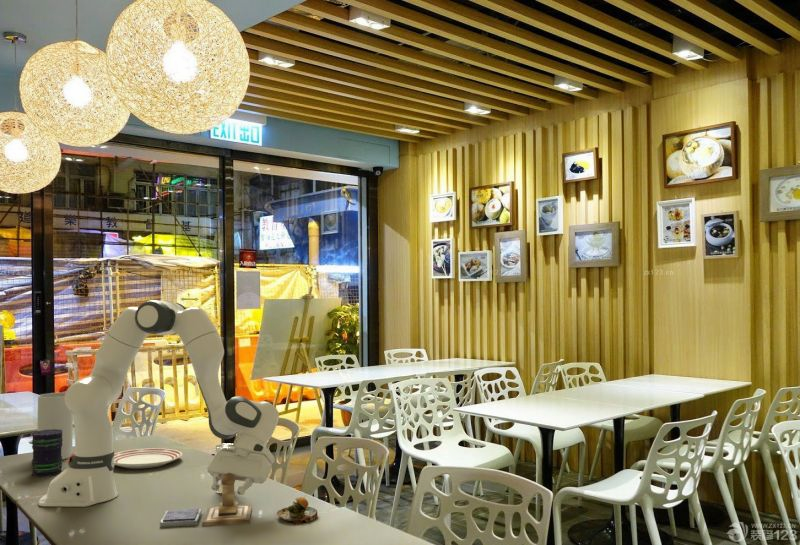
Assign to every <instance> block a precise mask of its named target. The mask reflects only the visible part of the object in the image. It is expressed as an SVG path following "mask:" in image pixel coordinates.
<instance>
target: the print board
mask: <svg viewBox="0 0 800 545" xmlns="http://www.w3.org/2000/svg"><path fill="white" fill-rule="evenodd" d="M252 507H253V506H252V505H251V504H250V505H247V504H246V505H238V508H237V514H236V515H231V516H218V513H219V506H213V507H212V506H211V507H210V506H209V507H207V508H206V512H205V513H204V516H203V519H202V522H201V524H202V527H203V526H219V525H235V524H239V525H241V524H250V523H251V515H252V509H253V508H252Z"/></svg>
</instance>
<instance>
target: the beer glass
mask: <svg viewBox="0 0 800 545" xmlns="http://www.w3.org/2000/svg"><path fill="white" fill-rule="evenodd" d="M235 444H236V443H220V444H217V445H215V448H214V456H215V455H216V454H217V453H218V452H219V451H220V450H222V449H224V448H228V449H233V448H234V446H235ZM218 484H219V485H220V488H219V490H218V491H215V493H216V494H218V493H220V494H219V495H222V494H221V493H222V482H221V480H220V481H219V483H218ZM235 491H236V489H235V487H234V492H235Z"/></svg>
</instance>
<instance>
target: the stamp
mask: <svg viewBox="0 0 800 545" xmlns="http://www.w3.org/2000/svg"><path fill="white" fill-rule="evenodd" d="M221 482H222V494H221V499H222V500H221V502H219V505H218V507H219V513H218V516H231V515H236V514H237V508H238V506H239V505H238V502H239V501H235V491H234V488H235V483H236V480H235V476H234V475H233V474H232V473H226V474H224V475H223V476H222V479H221Z"/></svg>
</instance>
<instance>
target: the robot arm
mask: <svg viewBox="0 0 800 545" xmlns="http://www.w3.org/2000/svg"><path fill="white" fill-rule="evenodd" d="M149 335H158V336H168V335H170V336H173V335H178V337H179V338H180V340H181V342H182V344H183V347H184V349H185V350H186V352H187V355H188V359H189V360H190V363H191V365H192V368H193V371H194V376H195V379H196V381H197V385H198V387H199V388H198V389H199V390H200V393H201V395H202V399H203V401H204V403H205V406H206V409H207V414H208V427H209V430H210V432H211V433H212V434H213V435H214V436H215V437H216V438H219V439H221V440H228V439H232V438H234V437H235V436H237V434H239V436H238V437H237V440H236V442H235V443H234V444H235V446H234V448H233V449H228V448H224V449H222V450H220V451H219V452H218V453H217V454H216V455H215V454H214V457H213V458H212V459H211V461H210V463H209V464H208V466H206V467H207V469H206V470H207V472H208V474H209V475H210V476H211V477H213V482H212V485H211V490H212V491H214V492H216V491H218V490H219V488H220V485H219V484H218V483H219V481H220V480H221V479H222V476H223V475H224V474H226V473H232V474H233V475H234V476H235V481H239V482H240V481H241V482H244V483H243V484H242V485H241V486H238V488H237V490H236V493H237V494H238V495H241V496H243V495H244V494H245V493H246V491H247V490H249V489H250V488H251V487H252V486H253V484H254V483H255V484H259V485H260V484H261V485H262V484H264V483H265V482H266V481H267V480H268V478H269V475H270V473H271V470H272V467H273V466H272V464H273V463H275V461H276V460H275V459H276V458H275V456H274V455H273V453H272V452H271V451H270V449H268V448H267V443H268V441H269V440H270V439H271V437H272V436H273V434H274V432H275V430H276V428H277V424H278V422H279V420H280V419H279V418H280V415H279V414H280V413H279V410H278V409H277V408H276V406H275V405H274V404H272V403H270V402H268V401H266V400H265V401H264V400H263V401H255V400H251V399H248V398H246V397H245V396H239V395H237V396H233V397H231V398H229V400H227V399H226V397H225V394H224V391H223V389H222V387H221V383H220V380H219V371H220V367H221V363H222V360H223V358H224V355H225V349H224V343H223V341H222V338H221V336H220V334H219V332H218V330H217V328H216V326H215V325H214V322H213V321H212V319H211V318H210V317H209V315H208V314H207V312H206V311H205V310H204V309H203V308H201V307H198V306H192V307H191V306H190V307H188V308H186V307H185V306H184V305H183V304H181V303H178V302H174V301H170V300H159V299H158V300H157V299H151V300H148V301H144V302H142V303H141V304H140V305H139V306H138V307H137V306H130V307H129V306H128V307H126V308H124V309H123V311H122V312H120V314H119V315H118V317H117V318H116V319H115V321H114V322H113V324H112V325H111V326H110V328H109V329H108V331H107V333H106V335H105V337H104V339H103V340H102V342H101V344H100V346H99V348H98V350H97V351H96V354H95V358H96V359H95V362H94V366H93V369H92V371H91V373H90V374H89V375H88V376H87V377H83V378H80V379H78V380H76V381H75V382H74V383H72V384H71V385H70V386H69V387H68V388H67V389H66V391H65V392H64V393H65V403H66V405H67V407H68V408H69V409H70V411H71V414H72V418H73V427H74V440H75V441H74V444H75V445H74V448H75V449H74V452H72V454H71V456H70V457H69V458H67V459H66V460H67V461H66V462H67V465H68V466H67V467H66V468H65V469H63V470H62V472H61V473H60V474H58V475H55V476H54V478H52V480H51V481H50V482H49V485H48V487H47V493H46V494H44V495H43V496H42V497H40V499H39V500H38V505H39V507H77V508H78V507H90V506H92V505H95V504H99V503H103V502H107V501H110V500H113V499H115V498H116V497H117V496H118V495H119V493H118V491H117V487H116V482H115V474H114V473H115V472H114V469H115V465H114V463H115V456H114V453H115V451H114V427H113V425H112V423H111V421H110V418H109V414H108V406H110V405H112V404H115V402H116V401H117V400H118V399H119V398H120V397H121V395H122V393H123V386H124V385H125V384H124V383H125V382H126V381H125V380H126V377H127V375H128V373H129V369H130V367H131V365H132V364H133V362H134V360H135V358H136V356H137V354H138V352H139V351H140V349H141V347H142V345H143V343H144V342H145V340H146V338H147V337H148V336H149Z"/></svg>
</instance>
